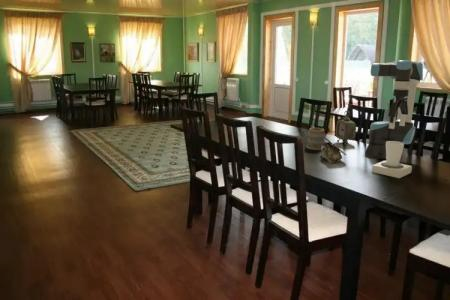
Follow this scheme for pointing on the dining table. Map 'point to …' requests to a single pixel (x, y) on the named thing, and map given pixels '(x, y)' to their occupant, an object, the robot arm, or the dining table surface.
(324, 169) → the dining table surface
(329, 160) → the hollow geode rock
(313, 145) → the tankard
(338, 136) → the tabletop clock
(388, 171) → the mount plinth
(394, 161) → the foam cup
